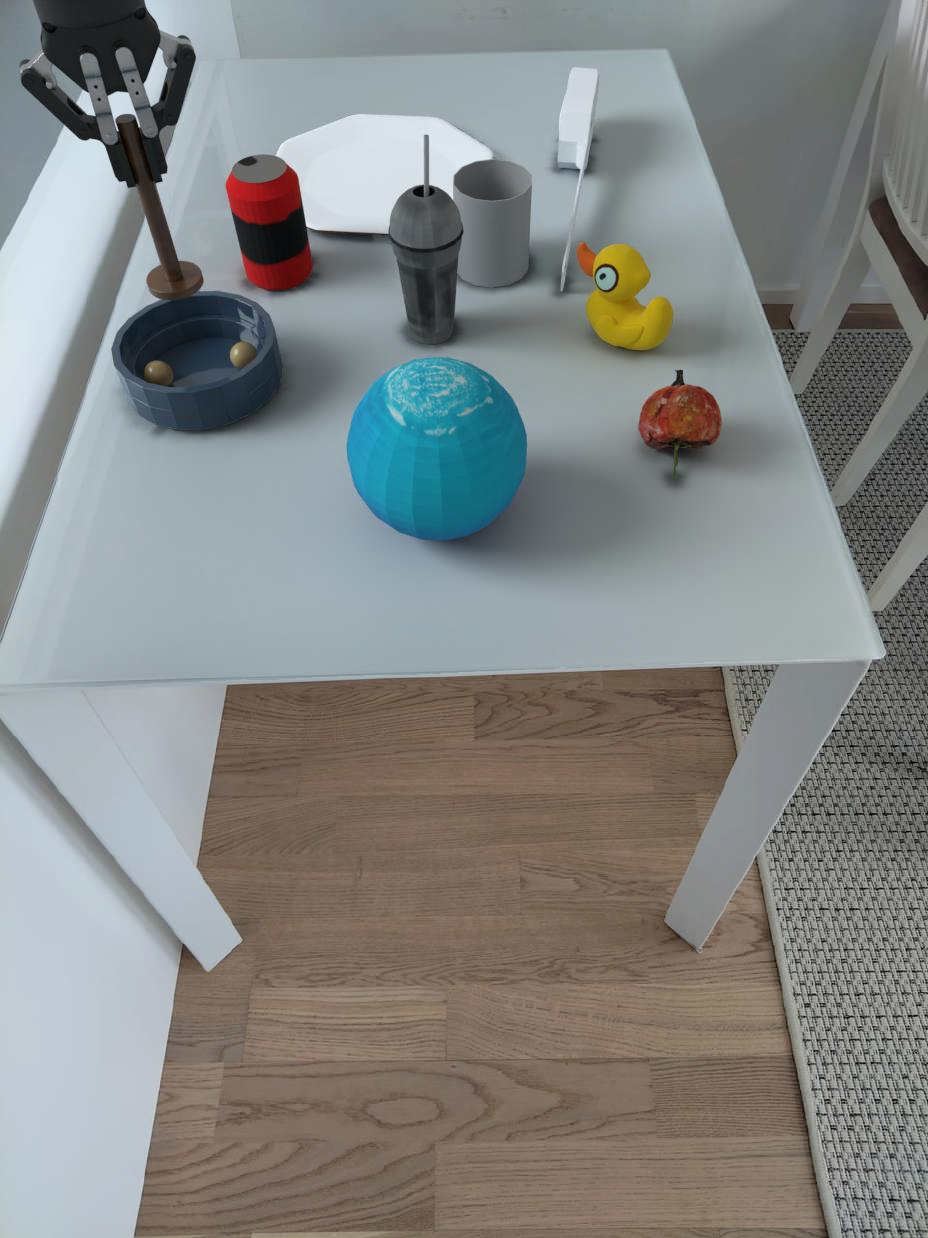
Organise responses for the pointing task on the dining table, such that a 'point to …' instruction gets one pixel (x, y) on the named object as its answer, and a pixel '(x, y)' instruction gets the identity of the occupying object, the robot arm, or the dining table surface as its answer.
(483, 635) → the dining table surface
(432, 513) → the decorative orb
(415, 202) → the beverage cup
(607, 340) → the duckling
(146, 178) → the stirrer
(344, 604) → the dining table surface
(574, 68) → the spatula
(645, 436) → the orange red pumpkin
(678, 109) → the dining table surface
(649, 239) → the dining table surface
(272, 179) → the soda can
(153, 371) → the bead
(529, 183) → the cup
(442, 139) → the plate
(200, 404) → the bowl
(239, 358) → the bead
